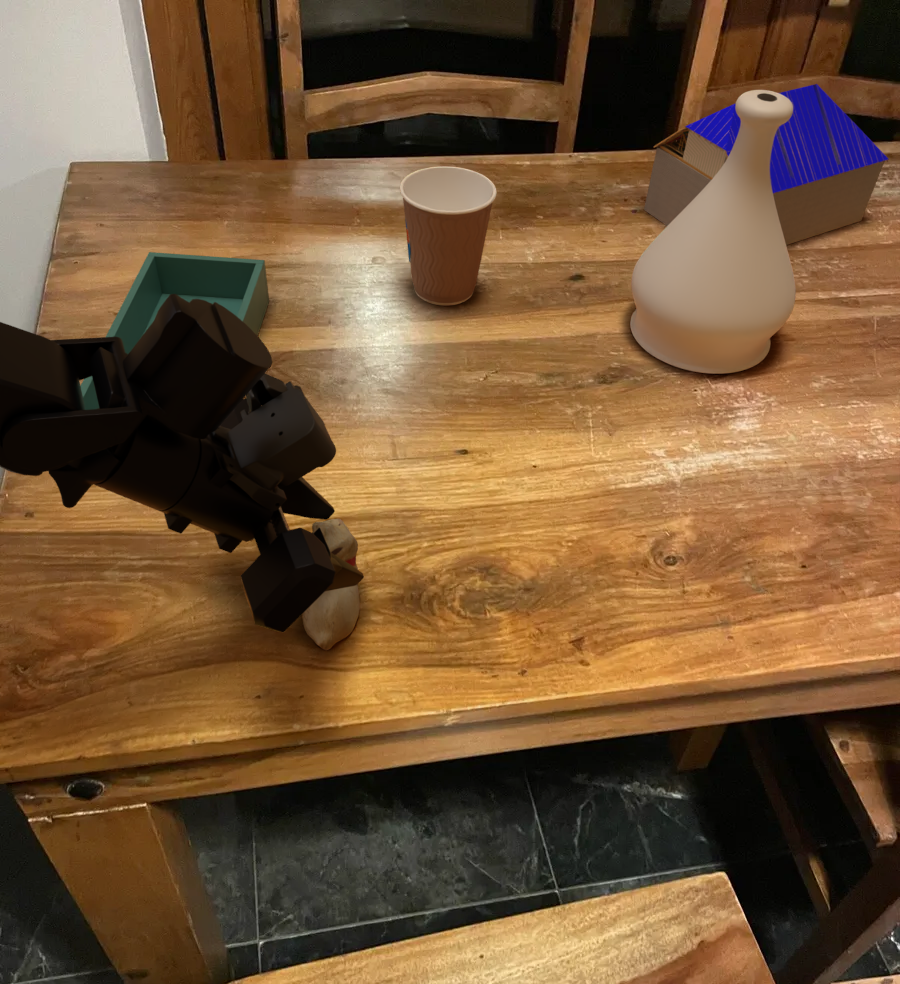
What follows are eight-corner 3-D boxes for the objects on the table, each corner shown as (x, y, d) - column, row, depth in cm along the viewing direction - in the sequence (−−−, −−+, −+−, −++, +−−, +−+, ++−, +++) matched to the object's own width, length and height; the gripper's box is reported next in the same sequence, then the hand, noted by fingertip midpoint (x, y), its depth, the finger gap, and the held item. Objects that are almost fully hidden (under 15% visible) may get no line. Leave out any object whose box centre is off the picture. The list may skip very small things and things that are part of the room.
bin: (211, 477, 86) (202, 435, 82) (74, 468, 86) (60, 424, 82) (269, 300, 105) (264, 259, 101) (157, 293, 105) (149, 251, 101)
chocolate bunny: (386, 591, 78) (385, 505, 70) (332, 656, 73) (325, 571, 65) (331, 565, 79) (324, 477, 72) (275, 626, 75) (262, 540, 67)
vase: (766, 296, 110) (844, 68, 91) (789, 386, 99) (882, 146, 80) (619, 284, 111) (666, 53, 92) (625, 371, 99) (679, 129, 80)
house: (723, 266, 114) (762, 135, 102) (640, 209, 123) (667, 81, 111) (864, 221, 123) (914, 95, 112) (777, 170, 132) (815, 48, 120)
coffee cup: (431, 257, 113) (434, 157, 104) (504, 284, 109) (514, 183, 100) (381, 294, 107) (380, 192, 98) (457, 325, 104) (463, 221, 94)
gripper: (290, 477, 52) (463, 562, 63) (216, 299, 63) (375, 399, 74) (173, 603, 56) (356, 662, 67) (123, 415, 67) (287, 493, 78)
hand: (344, 546), depth 72 cm, fingers open, 7 cm apart
